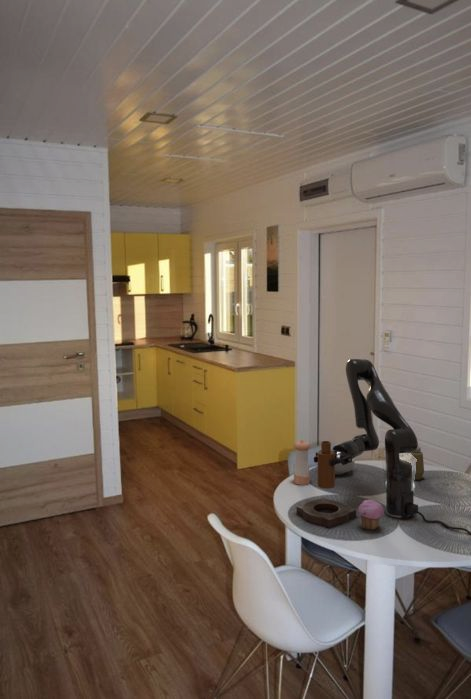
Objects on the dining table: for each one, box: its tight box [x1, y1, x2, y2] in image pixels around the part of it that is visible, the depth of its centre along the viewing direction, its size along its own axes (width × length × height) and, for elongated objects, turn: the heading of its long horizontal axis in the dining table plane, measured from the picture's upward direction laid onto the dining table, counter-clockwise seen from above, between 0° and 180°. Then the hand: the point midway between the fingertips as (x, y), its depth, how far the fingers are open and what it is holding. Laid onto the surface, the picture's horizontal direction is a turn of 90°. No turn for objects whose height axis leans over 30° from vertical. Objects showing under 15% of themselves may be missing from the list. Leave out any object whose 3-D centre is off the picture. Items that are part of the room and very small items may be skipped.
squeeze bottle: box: [410, 445, 425, 481], centre depth 260 cm, size 8×8×18 cm
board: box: [296, 497, 357, 529], centre depth 220 cm, size 18×18×3 cm
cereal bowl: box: [335, 457, 356, 476], centre depth 270 cm, size 17×17×7 cm
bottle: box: [316, 440, 336, 489], centre depth 218 cm, size 6×6×17 cm
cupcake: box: [357, 499, 384, 531], centre depth 208 cm, size 9×9×10 cm
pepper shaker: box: [293, 439, 311, 486], centre depth 257 cm, size 7×7×19 cm
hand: (322, 461), depth 216 cm, fingers closed on bottle, 6 cm apart
